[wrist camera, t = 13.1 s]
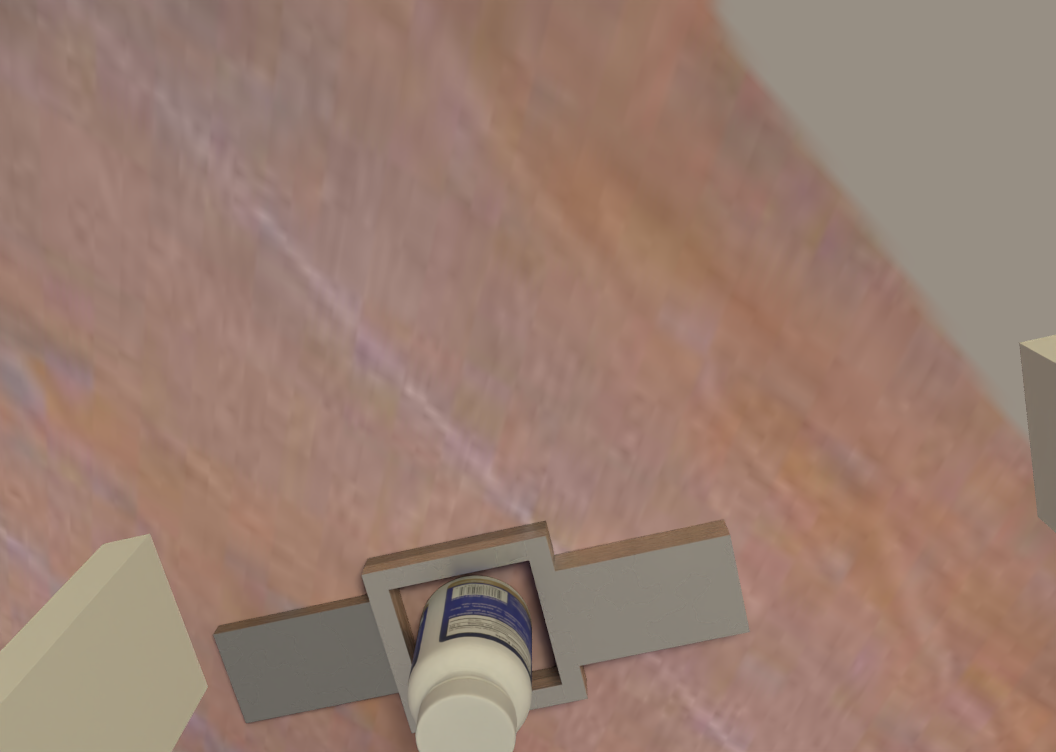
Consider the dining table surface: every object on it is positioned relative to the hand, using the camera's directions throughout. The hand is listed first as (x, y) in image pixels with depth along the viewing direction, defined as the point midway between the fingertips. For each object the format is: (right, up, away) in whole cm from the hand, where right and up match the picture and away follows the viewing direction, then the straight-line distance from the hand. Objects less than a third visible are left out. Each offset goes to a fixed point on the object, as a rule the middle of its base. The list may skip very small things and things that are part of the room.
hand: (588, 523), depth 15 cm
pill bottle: (-3, -9, +33) cm, 35 cm away
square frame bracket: (-3, -9, +33) cm, 34 cm away
